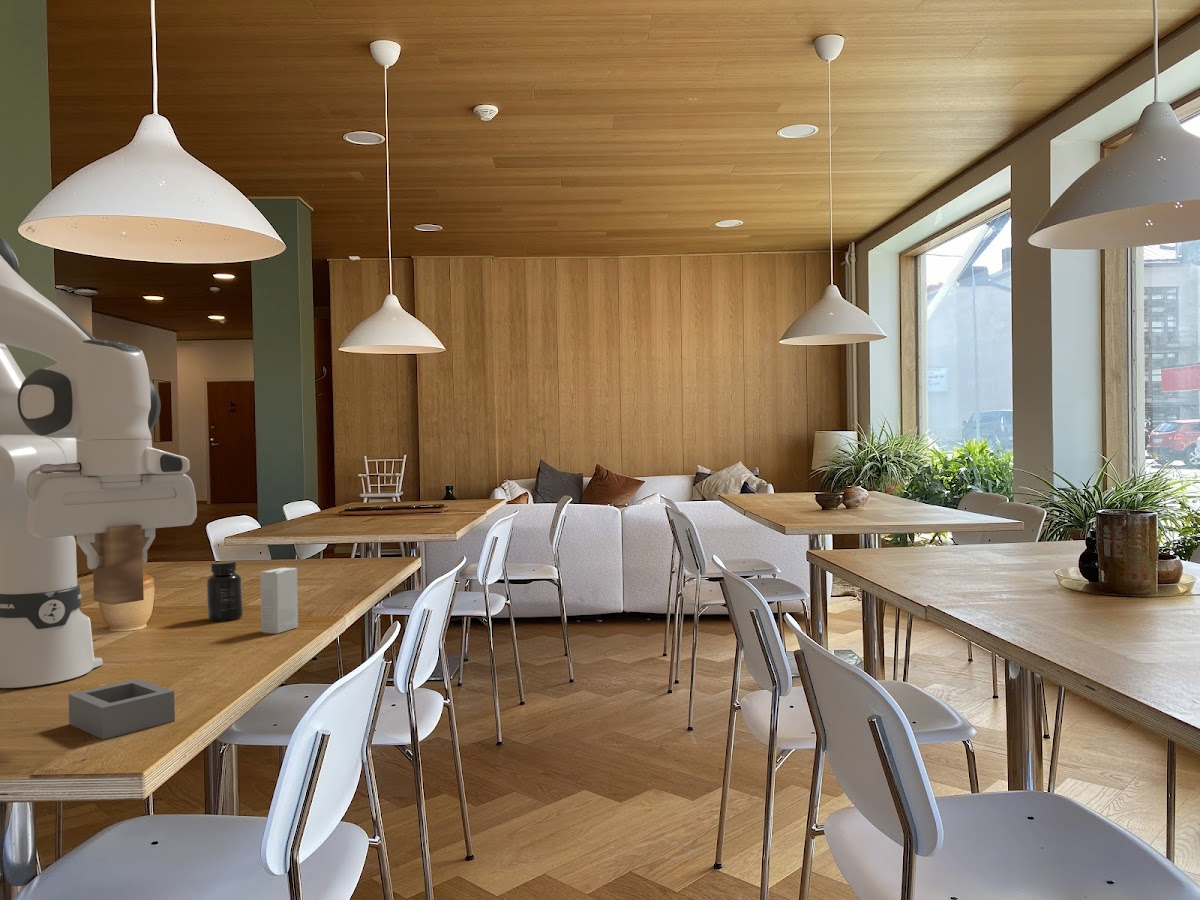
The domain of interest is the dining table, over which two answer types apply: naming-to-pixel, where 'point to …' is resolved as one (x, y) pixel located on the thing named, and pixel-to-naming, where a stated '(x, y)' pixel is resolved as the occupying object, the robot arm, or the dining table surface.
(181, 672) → the dining table surface
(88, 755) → the dining table surface
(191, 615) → the dining table surface
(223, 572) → the supplement bottle
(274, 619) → the skincare box
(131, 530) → the walnut peg
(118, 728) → the holder
